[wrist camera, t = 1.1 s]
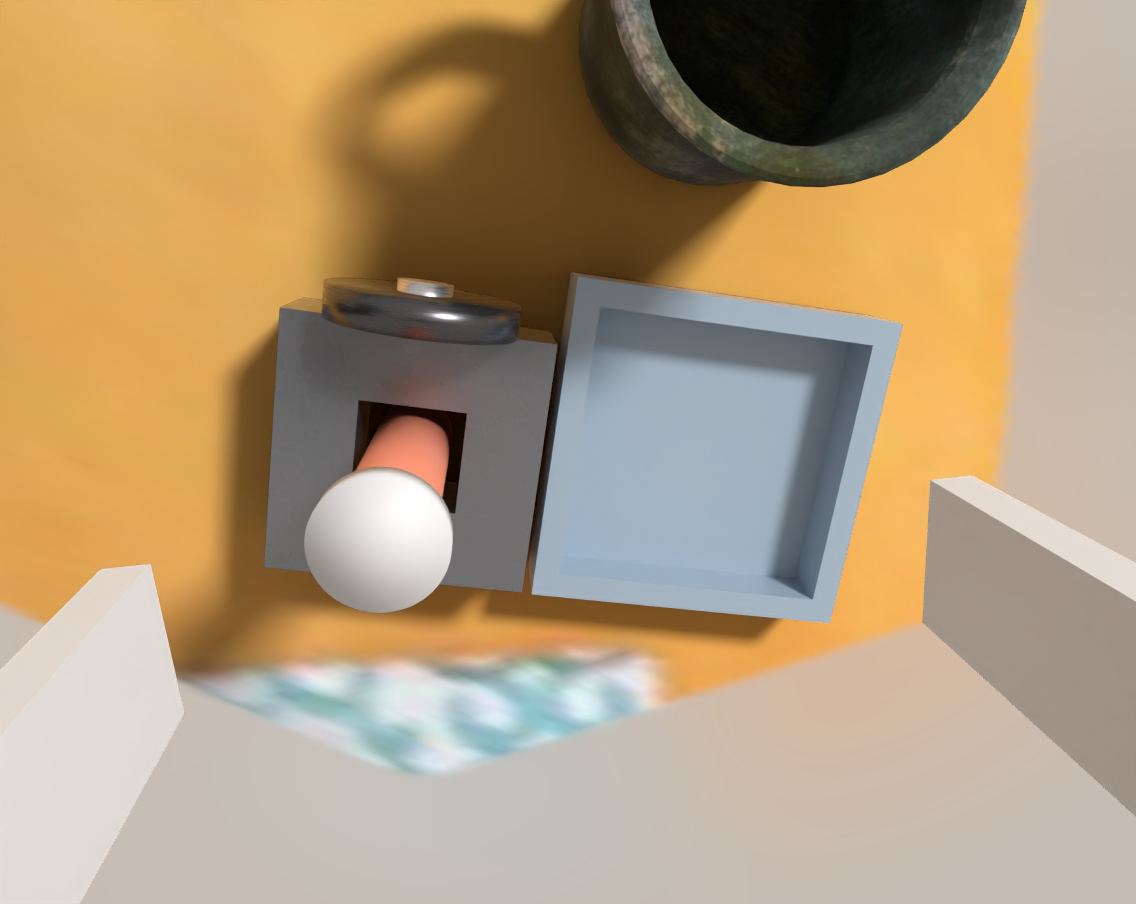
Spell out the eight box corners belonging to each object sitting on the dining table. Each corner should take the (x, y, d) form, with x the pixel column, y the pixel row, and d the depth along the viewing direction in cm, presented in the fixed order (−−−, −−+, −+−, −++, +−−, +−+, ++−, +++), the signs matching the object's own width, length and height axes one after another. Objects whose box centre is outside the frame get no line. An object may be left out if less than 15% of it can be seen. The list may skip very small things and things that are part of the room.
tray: (528, 565, 38) (531, 594, 35) (570, 271, 35) (578, 276, 32) (804, 593, 40) (829, 623, 37) (870, 315, 36) (903, 323, 33)
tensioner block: (287, 530, 36) (238, 607, 29) (306, 256, 34) (256, 267, 26) (518, 554, 38) (526, 633, 31) (555, 292, 35) (573, 311, 28)
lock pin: (364, 472, 36) (299, 606, 24) (372, 379, 35) (309, 469, 23) (458, 482, 37) (443, 619, 24) (469, 392, 36) (459, 485, 23)
